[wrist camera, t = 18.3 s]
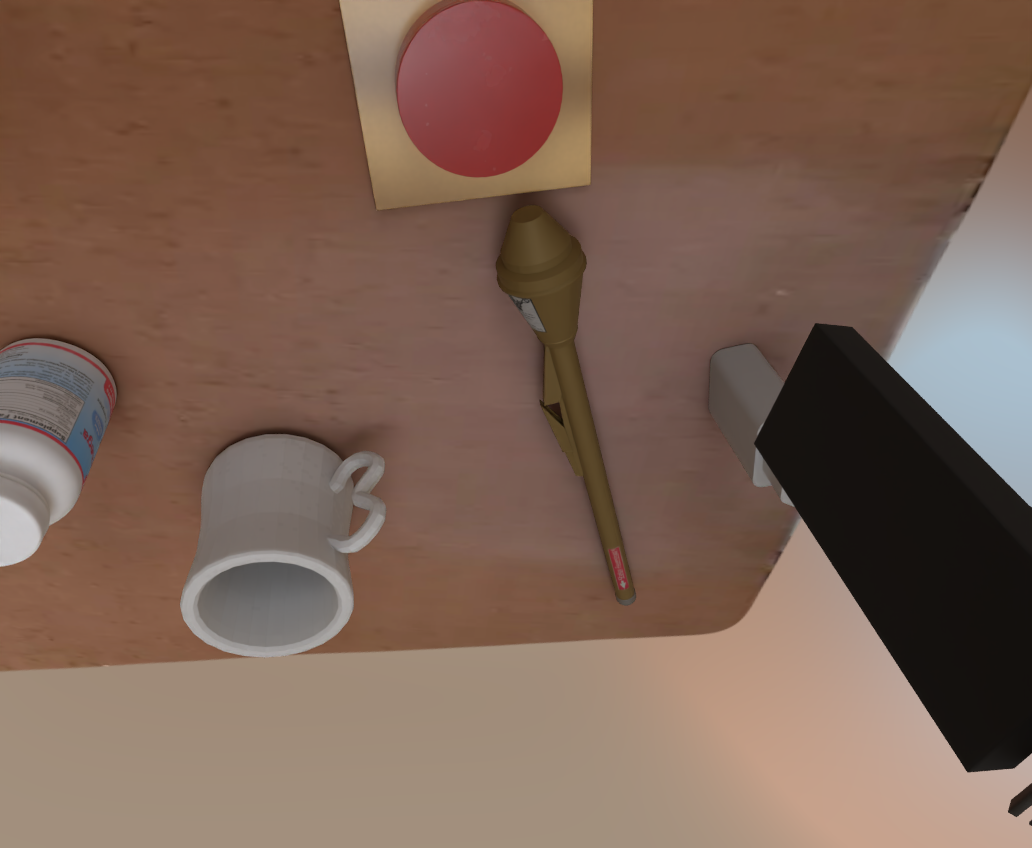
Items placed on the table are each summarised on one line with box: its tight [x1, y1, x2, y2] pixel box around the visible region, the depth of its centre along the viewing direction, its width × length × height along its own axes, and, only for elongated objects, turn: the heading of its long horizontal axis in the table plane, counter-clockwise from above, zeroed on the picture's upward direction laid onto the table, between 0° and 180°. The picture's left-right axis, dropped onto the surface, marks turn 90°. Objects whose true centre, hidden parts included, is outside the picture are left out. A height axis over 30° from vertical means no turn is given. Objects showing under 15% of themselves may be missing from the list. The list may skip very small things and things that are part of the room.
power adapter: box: [709, 344, 795, 507], centre depth 44 cm, size 3×5×12 cm, turn 8°
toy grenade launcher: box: [496, 205, 636, 605], centre depth 48 cm, size 5×35×5 cm
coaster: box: [339, 0, 593, 210], centre depth 35 cm, size 11×11×1 cm
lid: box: [394, 0, 563, 177], centre depth 34 cm, size 8×7×2 cm
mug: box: [180, 434, 386, 657], centre depth 44 cm, size 12×9×10 cm
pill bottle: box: [0, 338, 117, 566], centre depth 36 cm, size 6×6×11 cm
